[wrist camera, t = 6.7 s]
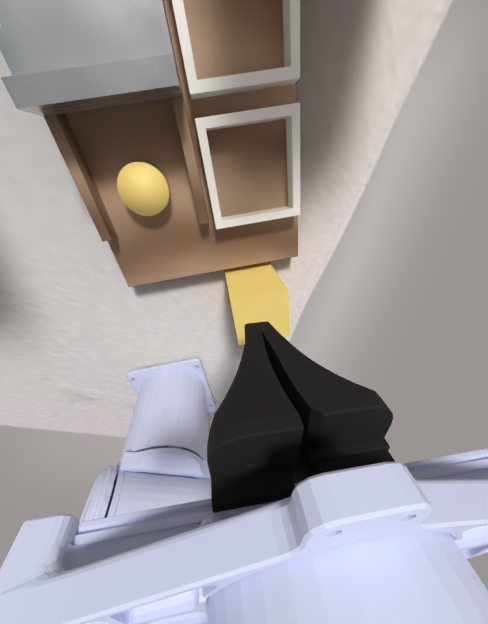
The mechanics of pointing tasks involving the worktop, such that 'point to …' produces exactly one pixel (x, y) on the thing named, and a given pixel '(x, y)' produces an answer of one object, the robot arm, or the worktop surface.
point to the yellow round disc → (143, 188)
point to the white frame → (250, 111)
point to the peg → (257, 298)
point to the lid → (86, 54)
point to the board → (192, 153)
